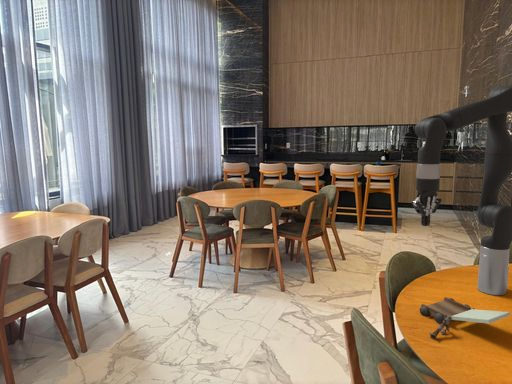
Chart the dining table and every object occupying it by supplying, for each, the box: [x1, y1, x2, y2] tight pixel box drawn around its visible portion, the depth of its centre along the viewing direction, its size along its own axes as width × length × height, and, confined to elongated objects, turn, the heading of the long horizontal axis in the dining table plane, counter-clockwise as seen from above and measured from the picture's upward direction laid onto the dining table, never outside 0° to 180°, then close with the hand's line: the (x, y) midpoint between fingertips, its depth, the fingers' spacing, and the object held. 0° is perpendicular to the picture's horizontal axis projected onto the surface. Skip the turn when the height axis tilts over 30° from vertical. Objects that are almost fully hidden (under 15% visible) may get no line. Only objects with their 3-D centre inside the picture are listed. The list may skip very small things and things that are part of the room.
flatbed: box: [419, 296, 475, 325], centre depth 124 cm, size 14×10×3 cm
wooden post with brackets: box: [429, 318, 450, 341], centre depth 112 cm, size 2×8×4 cm, turn 122°
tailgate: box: [451, 308, 511, 325], centre depth 114 cm, size 10×1×12 cm
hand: (425, 225), depth 134 cm, fingers closed
